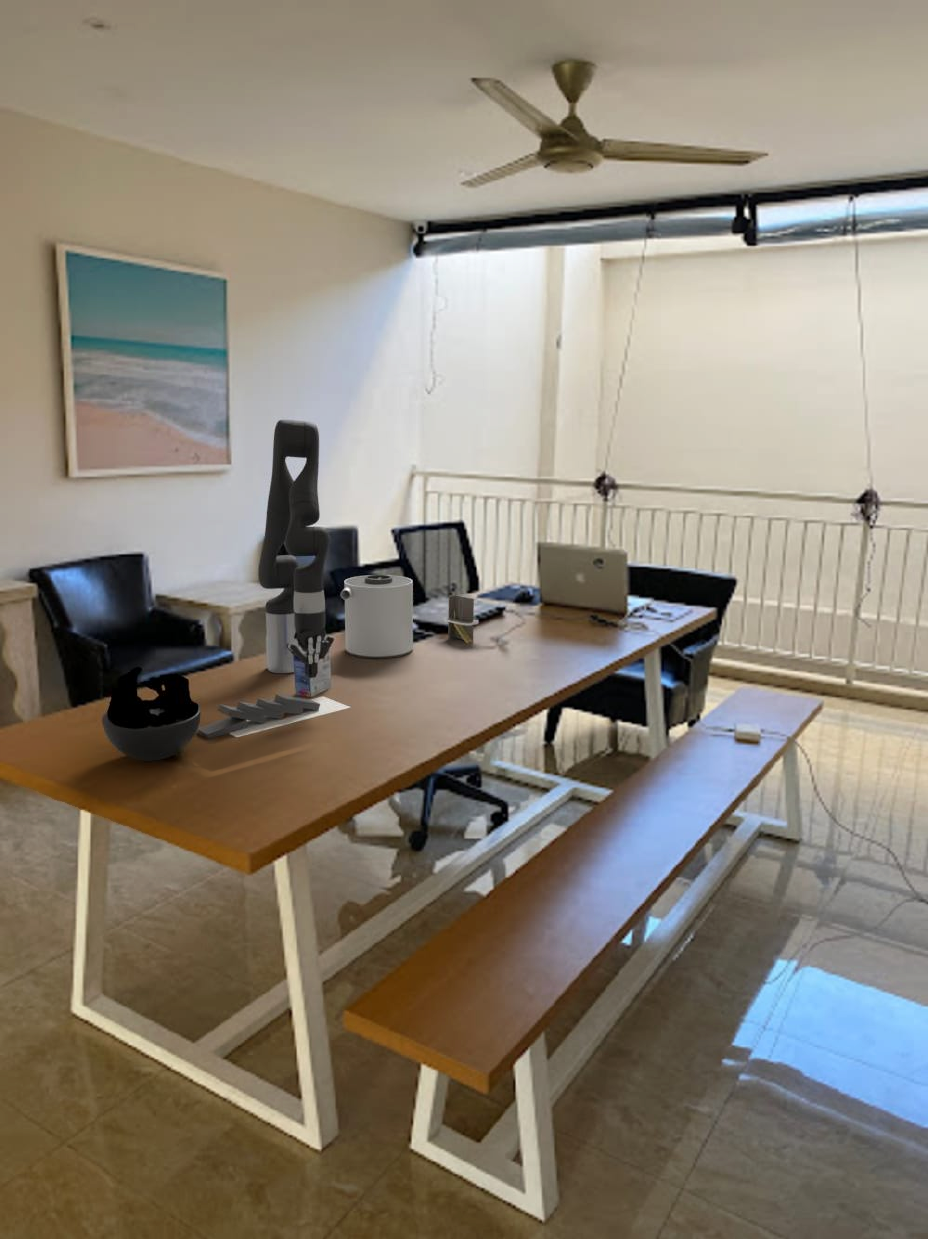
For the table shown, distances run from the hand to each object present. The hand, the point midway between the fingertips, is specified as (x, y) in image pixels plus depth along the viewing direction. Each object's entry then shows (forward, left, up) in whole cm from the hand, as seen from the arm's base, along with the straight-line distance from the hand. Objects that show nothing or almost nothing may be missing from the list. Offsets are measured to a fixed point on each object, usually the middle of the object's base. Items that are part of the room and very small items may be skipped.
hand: (311, 677), depth 225 cm
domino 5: (0, +1, -7) cm, 7 cm away
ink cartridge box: (-12, +9, -9) cm, 17 cm away
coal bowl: (+3, -42, -9) cm, 44 cm away
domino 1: (0, -20, -7) cm, 21 cm away
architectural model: (-29, +78, -10) cm, 83 cm away
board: (0, -8, -9) cm, 12 cm away
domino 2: (0, -15, -7) cm, 17 cm away
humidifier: (-36, +48, -9) cm, 60 cm away
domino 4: (0, -4, -7) cm, 9 cm away
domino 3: (0, -10, -7) cm, 12 cm away
